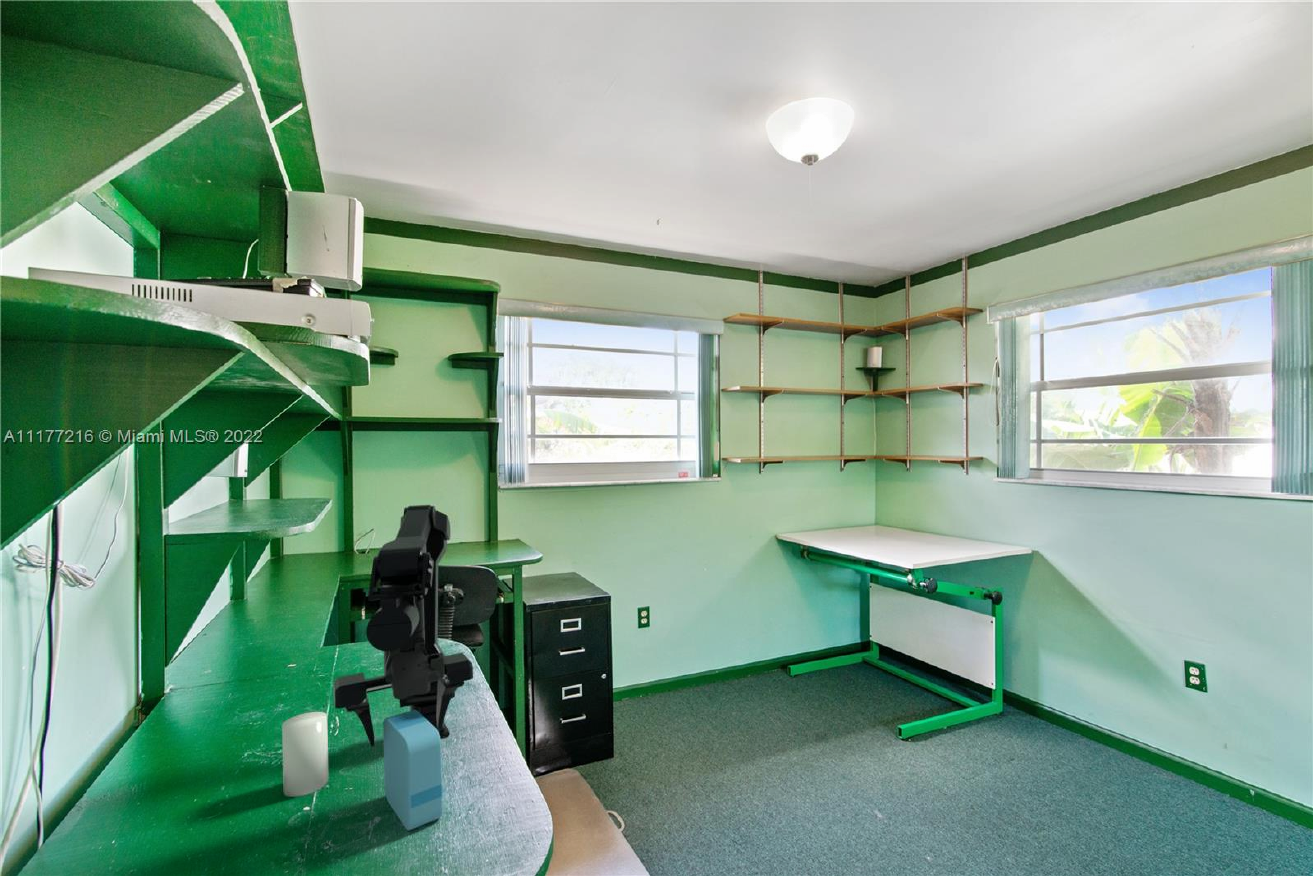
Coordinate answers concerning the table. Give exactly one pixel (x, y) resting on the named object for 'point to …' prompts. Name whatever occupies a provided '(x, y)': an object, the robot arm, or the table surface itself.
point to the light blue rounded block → (413, 768)
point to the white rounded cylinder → (305, 754)
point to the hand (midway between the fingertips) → (406, 737)
